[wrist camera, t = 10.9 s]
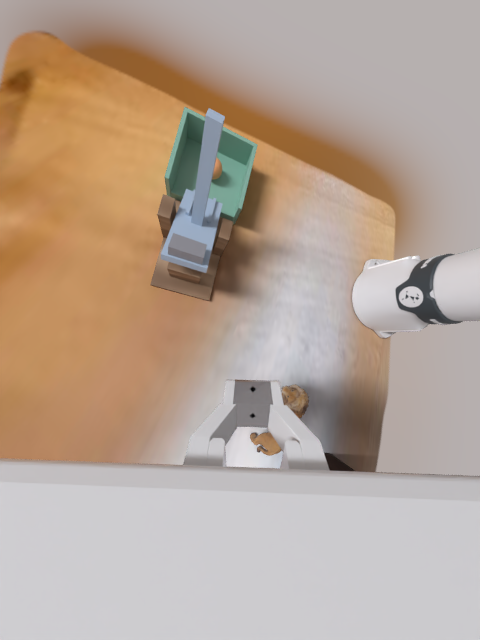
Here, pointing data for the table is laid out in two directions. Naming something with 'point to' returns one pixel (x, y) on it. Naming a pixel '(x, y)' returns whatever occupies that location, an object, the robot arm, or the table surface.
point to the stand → (185, 277)
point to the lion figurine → (298, 404)
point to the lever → (197, 207)
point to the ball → (217, 169)
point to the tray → (231, 154)
